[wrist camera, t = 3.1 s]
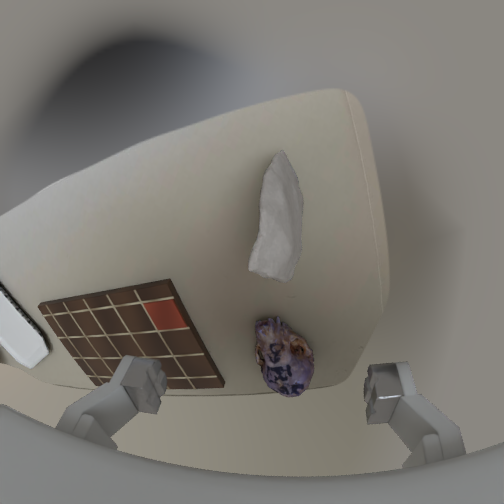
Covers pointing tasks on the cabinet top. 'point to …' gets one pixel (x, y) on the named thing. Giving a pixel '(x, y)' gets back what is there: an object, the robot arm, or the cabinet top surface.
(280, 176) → the stone tool
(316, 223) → the cabinet top surface
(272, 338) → the skull
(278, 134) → the cabinet top surface
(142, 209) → the cabinet top surface
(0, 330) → the plate
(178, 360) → the board
